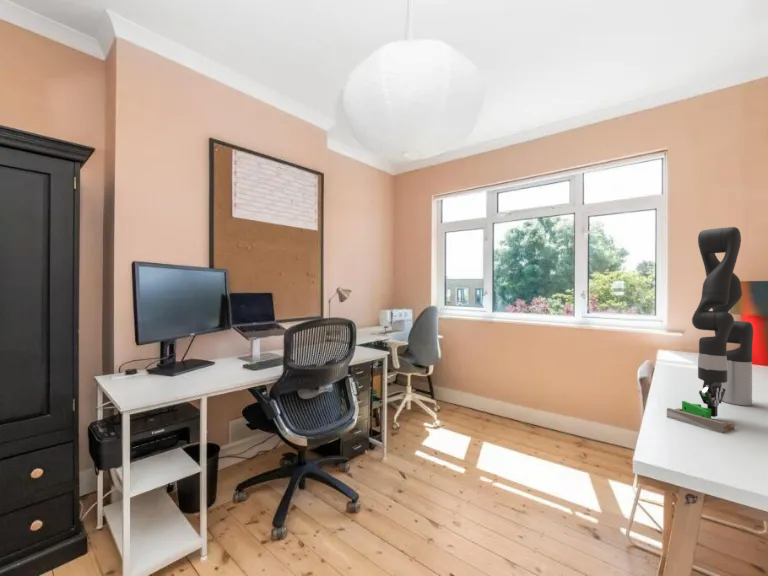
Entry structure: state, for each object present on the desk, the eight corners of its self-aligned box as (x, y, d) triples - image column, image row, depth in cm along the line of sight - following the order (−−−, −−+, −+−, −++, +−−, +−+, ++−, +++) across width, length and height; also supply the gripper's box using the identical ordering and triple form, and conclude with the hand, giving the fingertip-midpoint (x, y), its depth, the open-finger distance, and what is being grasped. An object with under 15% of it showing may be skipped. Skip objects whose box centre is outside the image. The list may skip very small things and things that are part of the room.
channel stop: (679, 413, 125) (679, 405, 125) (734, 428, 111) (734, 419, 111) (666, 416, 121) (666, 408, 121) (722, 432, 108) (722, 423, 108)
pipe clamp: (718, 425, 114) (718, 412, 114) (706, 425, 115) (706, 411, 115) (693, 413, 125) (693, 401, 125) (681, 412, 126) (681, 400, 126)
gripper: (708, 363, 126) (708, 410, 126) (689, 366, 121) (689, 415, 121) (735, 367, 119) (735, 416, 119) (716, 371, 114) (716, 422, 114)
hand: (712, 415), depth 120 cm, fingers closed
